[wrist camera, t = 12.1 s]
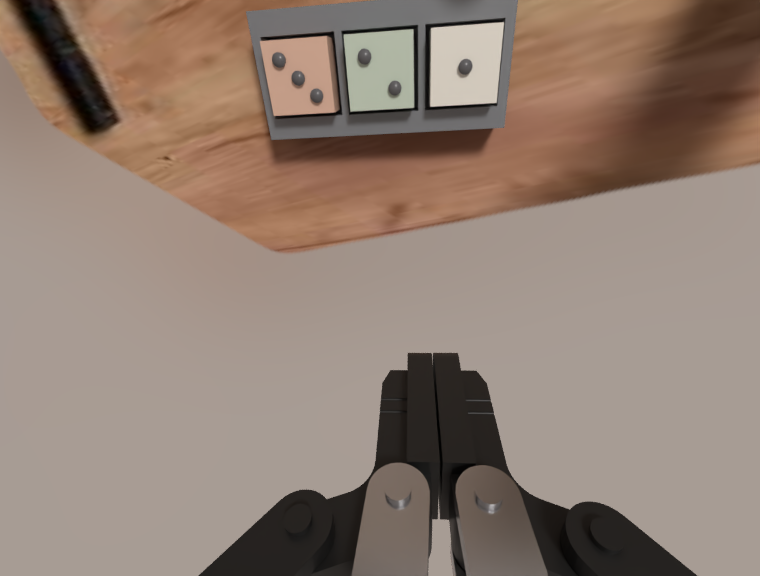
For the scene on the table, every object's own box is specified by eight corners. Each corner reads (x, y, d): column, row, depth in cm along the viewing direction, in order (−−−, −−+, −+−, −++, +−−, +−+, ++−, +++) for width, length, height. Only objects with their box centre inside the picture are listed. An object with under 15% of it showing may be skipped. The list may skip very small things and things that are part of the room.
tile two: (413, 32, 31) (413, 28, 29) (413, 105, 34) (414, 108, 31) (348, 37, 32) (343, 34, 29) (354, 108, 35) (350, 111, 32)
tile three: (333, 38, 32) (325, 35, 29) (340, 109, 35) (334, 112, 32) (271, 43, 33) (258, 40, 30) (283, 112, 35) (272, 116, 33)
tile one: (496, 26, 31) (505, 21, 28) (489, 100, 34) (497, 103, 31) (429, 31, 31) (431, 27, 28) (428, 104, 34) (430, 107, 31)
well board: (508, -5, 31) (519, -12, 28) (496, 122, 36) (504, 127, 33) (260, 16, 33) (246, 11, 30) (282, 134, 38) (271, 139, 35)
